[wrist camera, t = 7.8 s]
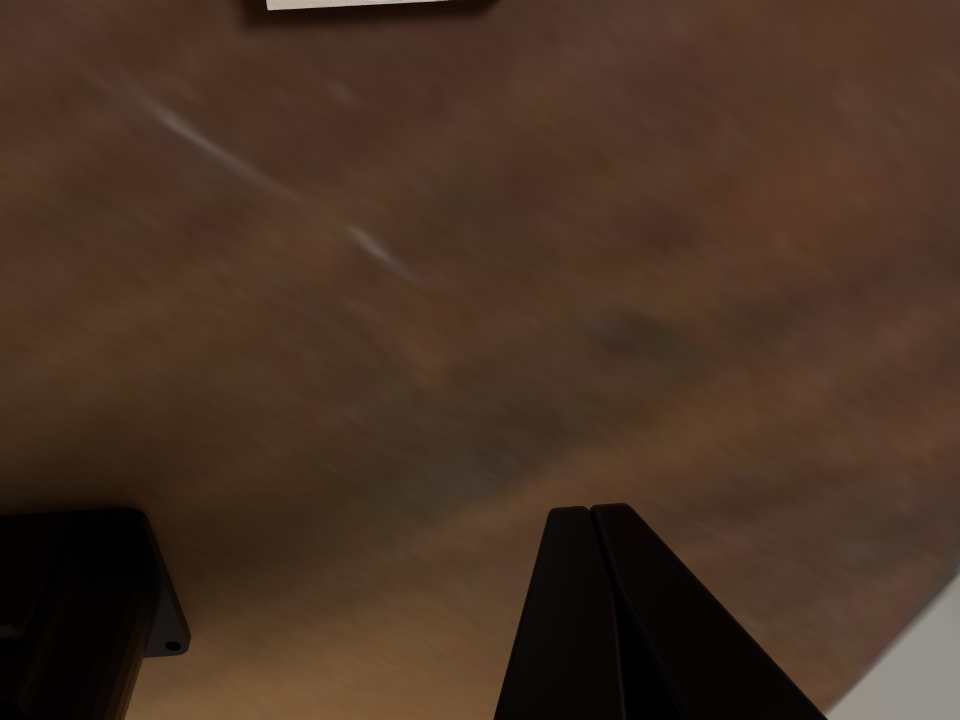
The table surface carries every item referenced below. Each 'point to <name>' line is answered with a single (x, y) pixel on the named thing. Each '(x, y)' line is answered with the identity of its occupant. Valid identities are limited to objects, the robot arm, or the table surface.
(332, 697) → the table surface
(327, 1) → the tray
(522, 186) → the table surface
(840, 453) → the table surface
